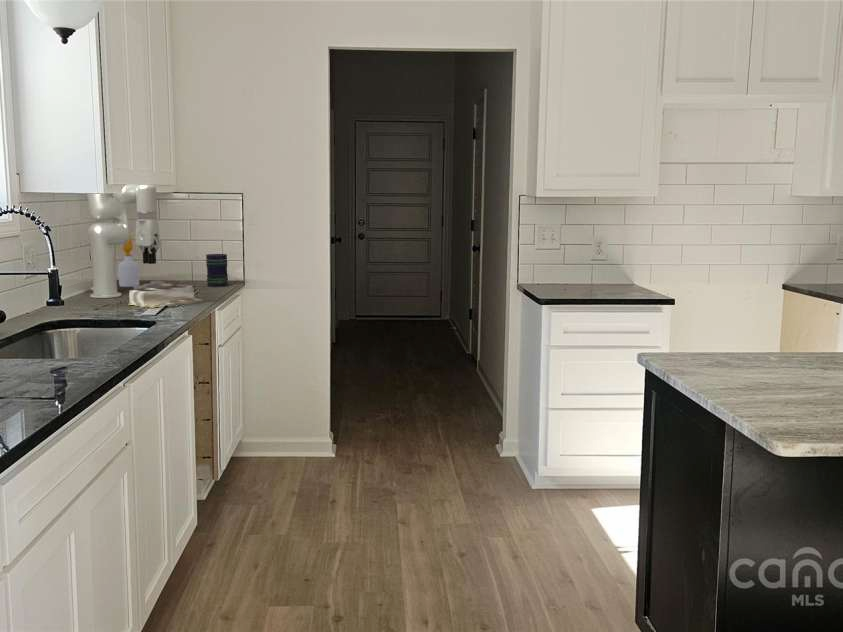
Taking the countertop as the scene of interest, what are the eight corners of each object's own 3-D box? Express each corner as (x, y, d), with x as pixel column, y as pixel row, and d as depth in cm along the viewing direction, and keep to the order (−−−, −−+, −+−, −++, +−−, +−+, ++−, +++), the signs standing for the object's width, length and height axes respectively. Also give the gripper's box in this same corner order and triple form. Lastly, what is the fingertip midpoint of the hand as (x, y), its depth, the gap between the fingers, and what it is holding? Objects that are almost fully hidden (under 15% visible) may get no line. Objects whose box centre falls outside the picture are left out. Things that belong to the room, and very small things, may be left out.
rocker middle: (150, 284, 349) (150, 280, 349) (159, 283, 353) (159, 279, 352) (163, 289, 344) (164, 285, 344) (173, 288, 348) (173, 284, 347)
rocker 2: (167, 285, 356) (166, 282, 356) (176, 284, 359) (175, 281, 359) (180, 283, 350) (180, 280, 350) (189, 282, 354) (188, 279, 353)
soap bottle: (138, 284, 415) (135, 233, 411) (140, 286, 407) (137, 234, 403) (118, 285, 411) (115, 234, 408) (120, 287, 403) (117, 235, 399)
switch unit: (128, 305, 343) (127, 290, 342) (180, 299, 362) (179, 284, 361) (151, 308, 334) (150, 293, 333) (203, 301, 353) (202, 287, 352)
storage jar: (232, 285, 410) (231, 254, 408) (215, 287, 402) (214, 255, 400) (219, 284, 416) (218, 253, 414) (202, 286, 409) (201, 254, 407)
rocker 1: (133, 289, 343) (133, 286, 343) (143, 288, 347) (142, 285, 347) (146, 287, 338) (146, 284, 338) (156, 286, 341) (155, 283, 341)
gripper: (126, 216, 337) (129, 263, 340) (151, 217, 328) (153, 265, 330) (143, 215, 343) (145, 261, 346) (168, 216, 333) (170, 264, 336)
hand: (149, 263), depth 338 cm, fingers closed
